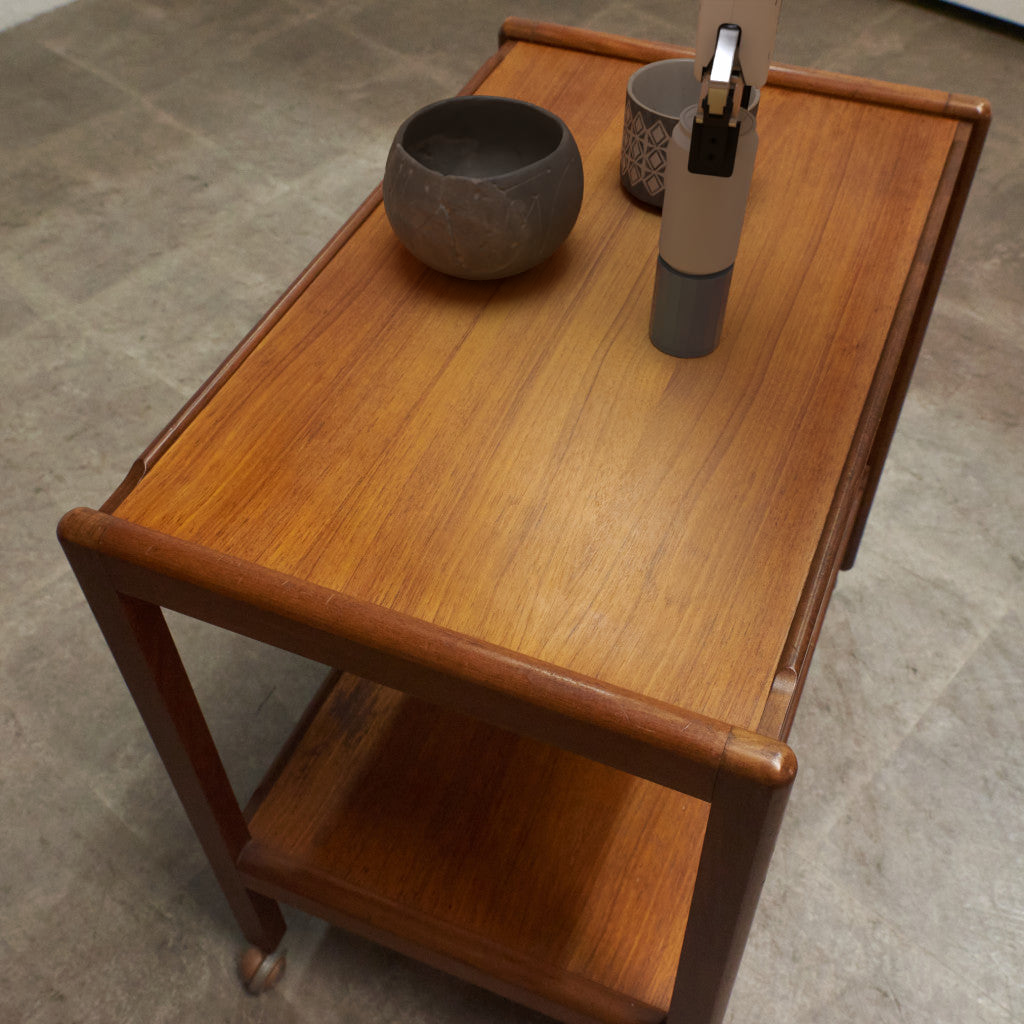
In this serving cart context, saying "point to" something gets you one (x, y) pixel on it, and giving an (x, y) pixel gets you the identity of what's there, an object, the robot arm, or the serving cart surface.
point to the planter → (657, 123)
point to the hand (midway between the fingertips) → (718, 140)
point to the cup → (688, 310)
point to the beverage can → (705, 202)
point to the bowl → (483, 185)
